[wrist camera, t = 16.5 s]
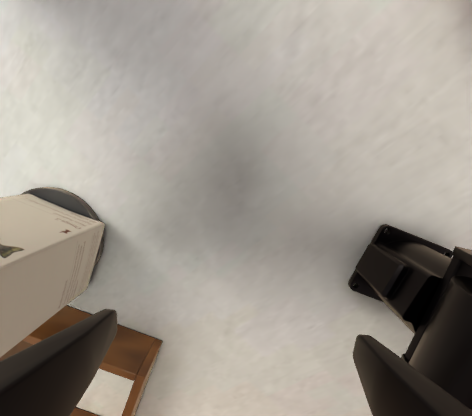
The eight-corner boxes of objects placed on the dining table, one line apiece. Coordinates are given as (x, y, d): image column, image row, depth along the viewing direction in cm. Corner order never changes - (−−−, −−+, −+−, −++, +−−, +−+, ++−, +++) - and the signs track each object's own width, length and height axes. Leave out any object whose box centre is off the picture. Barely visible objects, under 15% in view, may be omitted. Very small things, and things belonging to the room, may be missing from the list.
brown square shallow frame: (162, 340, 23) (145, 377, 19) (128, 431, 26) (107, 479, 22) (36, 294, 23) (-8, 322, 19) (16, 391, 25) (-26, 433, 22)
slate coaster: (114, 208, 20) (110, 210, 20) (92, 290, 22) (87, 294, 22) (19, 172, 20) (12, 172, 19) (5, 258, 22) (-2, 260, 21)
